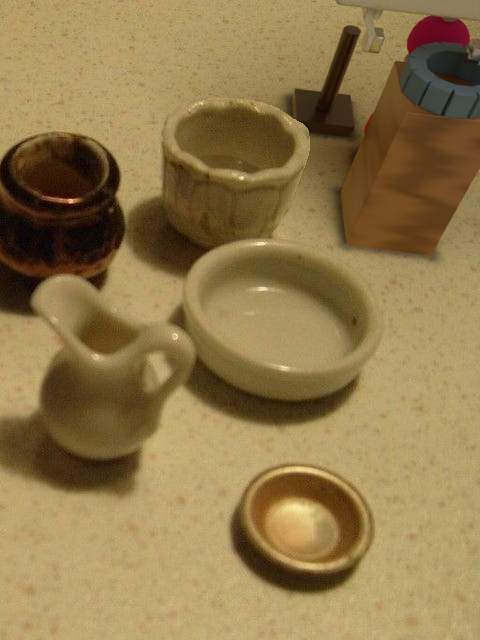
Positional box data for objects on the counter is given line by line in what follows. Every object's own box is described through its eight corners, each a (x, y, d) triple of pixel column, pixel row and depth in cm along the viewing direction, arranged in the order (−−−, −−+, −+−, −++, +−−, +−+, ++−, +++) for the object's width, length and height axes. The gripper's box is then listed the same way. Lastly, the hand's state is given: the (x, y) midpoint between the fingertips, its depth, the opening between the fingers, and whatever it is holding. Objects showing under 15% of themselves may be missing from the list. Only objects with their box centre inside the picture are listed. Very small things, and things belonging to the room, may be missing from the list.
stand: (346, 104, 110) (380, 17, 101) (351, 137, 106) (386, 49, 97) (291, 98, 111) (319, 10, 102) (293, 130, 107) (322, 42, 97)
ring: (488, 70, 85) (499, 47, 83) (504, 124, 80) (518, 100, 78) (394, 60, 86) (404, 37, 84) (405, 112, 80) (415, 89, 79)
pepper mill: (350, 141, 105) (413, -16, 90) (410, 148, 105) (485, -10, 89) (355, 178, 101) (422, 19, 85) (418, 186, 100) (498, 27, 85)
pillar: (420, 202, 98) (488, 70, 85) (430, 256, 93) (504, 124, 80) (340, 192, 99) (394, 60, 86) (345, 245, 94) (405, 112, 80)
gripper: (612, -102, 71) (528, 50, 82) (360, -126, 73) (310, 25, 84) (634, -67, 67) (542, 88, 78) (366, -94, 69) (313, 60, 80)
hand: (420, 55), depth 81 cm, fingers open, 8 cm apart
